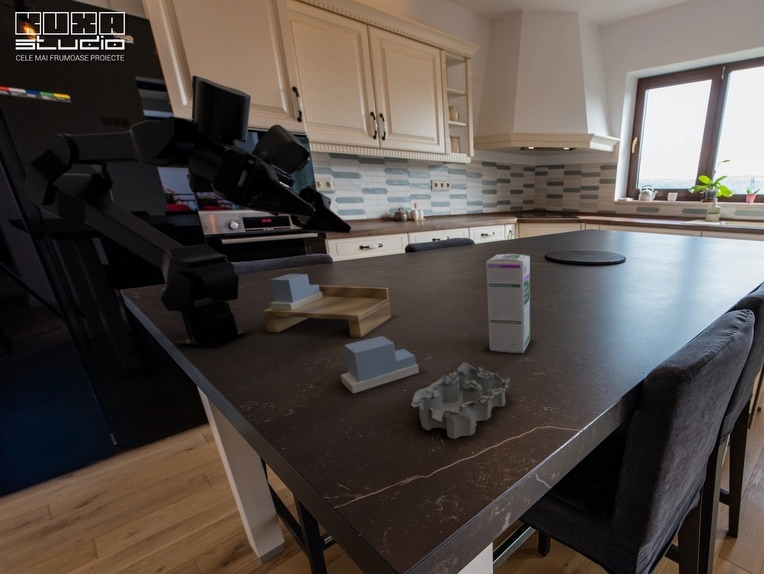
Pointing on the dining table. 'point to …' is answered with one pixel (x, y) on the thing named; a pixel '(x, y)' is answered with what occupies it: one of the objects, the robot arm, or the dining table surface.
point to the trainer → (376, 364)
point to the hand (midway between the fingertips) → (333, 222)
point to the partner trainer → (293, 292)
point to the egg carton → (460, 400)
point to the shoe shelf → (338, 309)
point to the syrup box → (508, 302)
